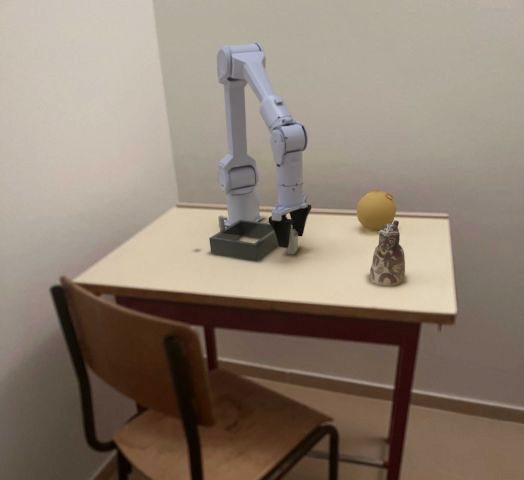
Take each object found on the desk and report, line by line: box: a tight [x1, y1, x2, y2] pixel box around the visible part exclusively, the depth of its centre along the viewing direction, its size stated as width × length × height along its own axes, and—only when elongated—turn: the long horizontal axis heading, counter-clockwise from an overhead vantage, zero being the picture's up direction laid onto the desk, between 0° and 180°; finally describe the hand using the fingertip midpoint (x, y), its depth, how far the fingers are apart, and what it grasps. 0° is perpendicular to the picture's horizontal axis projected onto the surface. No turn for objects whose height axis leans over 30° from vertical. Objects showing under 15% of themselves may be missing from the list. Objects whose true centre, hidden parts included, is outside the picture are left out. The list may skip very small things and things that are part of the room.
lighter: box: [286, 226, 299, 255], centre depth 122 cm, size 7×2×8 cm, turn 162°
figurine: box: [369, 219, 406, 287], centre depth 106 cm, size 7×7×12 cm
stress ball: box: [356, 189, 397, 231], centre depth 132 cm, size 10×10×10 cm
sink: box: [208, 215, 279, 262], centre depth 127 cm, size 14×15×7 cm
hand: (291, 241), depth 122 cm, fingers closed on lighter, 7 cm apart
